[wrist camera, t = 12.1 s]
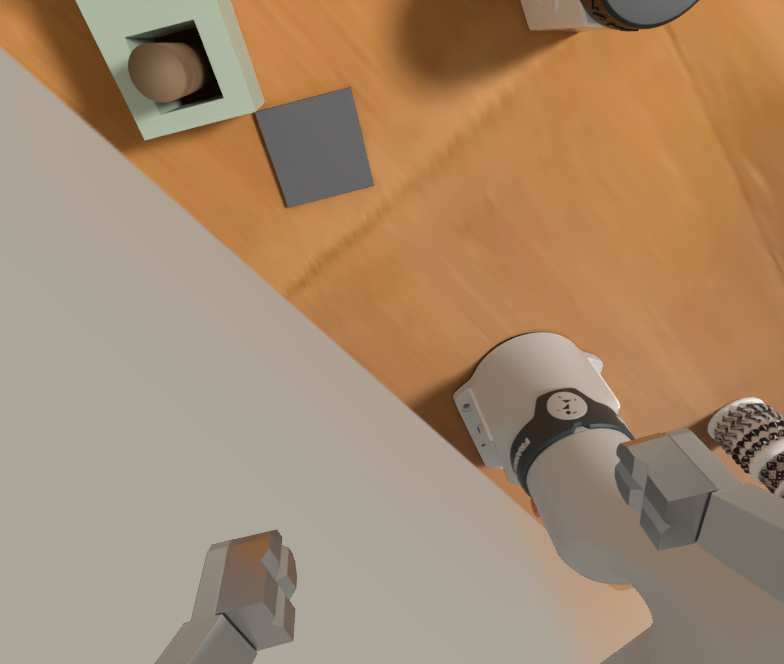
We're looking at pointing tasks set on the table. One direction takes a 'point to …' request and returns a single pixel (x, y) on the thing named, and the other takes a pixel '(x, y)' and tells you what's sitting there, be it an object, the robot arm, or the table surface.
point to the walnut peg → (170, 70)
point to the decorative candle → (752, 440)
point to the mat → (316, 147)
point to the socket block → (163, 17)
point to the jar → (602, 14)
